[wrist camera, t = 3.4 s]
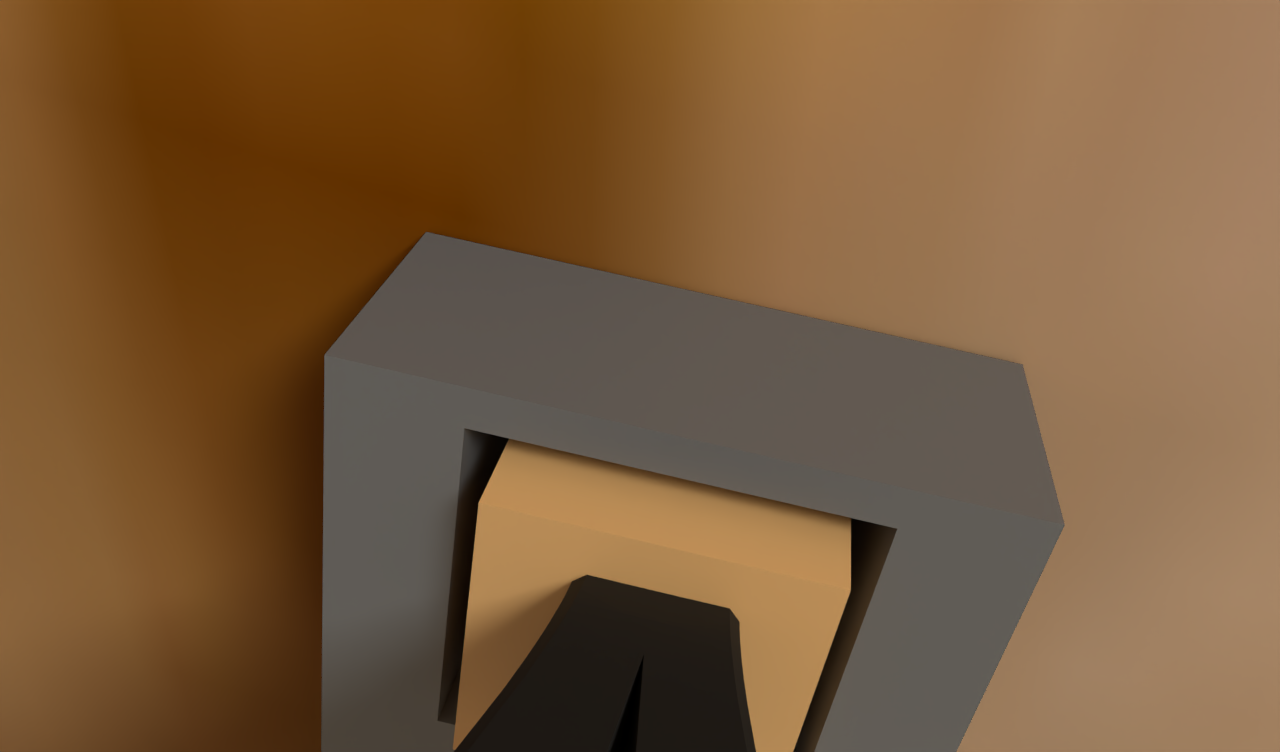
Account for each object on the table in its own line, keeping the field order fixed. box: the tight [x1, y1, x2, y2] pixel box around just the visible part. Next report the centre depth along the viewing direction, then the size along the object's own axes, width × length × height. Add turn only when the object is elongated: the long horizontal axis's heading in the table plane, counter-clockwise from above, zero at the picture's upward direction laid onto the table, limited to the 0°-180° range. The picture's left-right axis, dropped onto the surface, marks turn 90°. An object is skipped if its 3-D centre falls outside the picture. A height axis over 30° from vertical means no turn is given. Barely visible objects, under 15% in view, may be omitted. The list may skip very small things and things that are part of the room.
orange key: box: [453, 439, 851, 752], centre depth 10 cm, size 3×3×2 cm
